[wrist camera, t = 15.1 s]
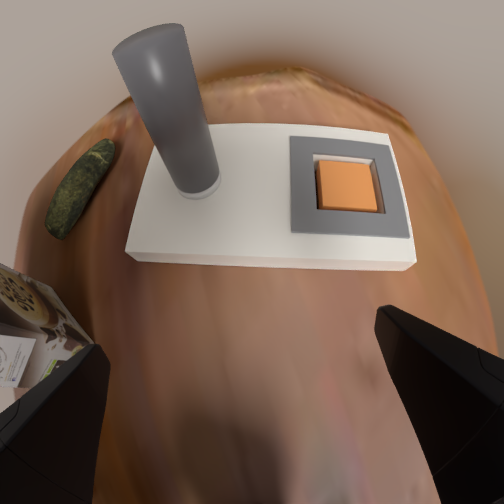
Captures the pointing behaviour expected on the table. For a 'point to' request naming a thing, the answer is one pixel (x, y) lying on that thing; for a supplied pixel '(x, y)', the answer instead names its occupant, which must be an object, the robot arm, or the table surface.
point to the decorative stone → (78, 188)
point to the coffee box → (33, 330)
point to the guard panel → (276, 205)
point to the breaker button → (345, 187)
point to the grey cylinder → (171, 105)
